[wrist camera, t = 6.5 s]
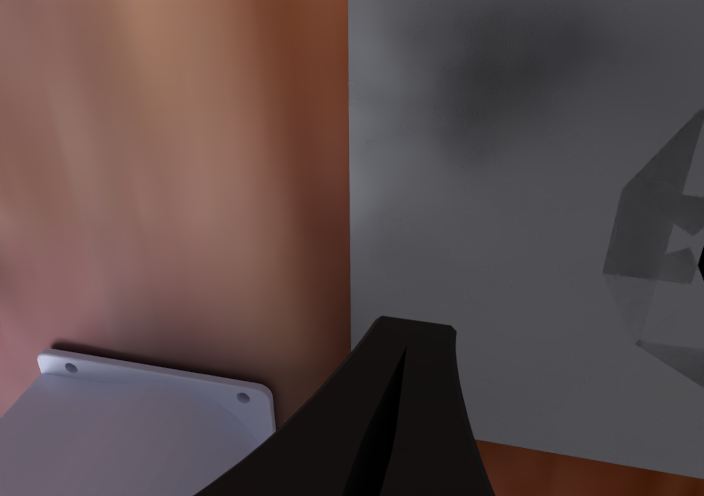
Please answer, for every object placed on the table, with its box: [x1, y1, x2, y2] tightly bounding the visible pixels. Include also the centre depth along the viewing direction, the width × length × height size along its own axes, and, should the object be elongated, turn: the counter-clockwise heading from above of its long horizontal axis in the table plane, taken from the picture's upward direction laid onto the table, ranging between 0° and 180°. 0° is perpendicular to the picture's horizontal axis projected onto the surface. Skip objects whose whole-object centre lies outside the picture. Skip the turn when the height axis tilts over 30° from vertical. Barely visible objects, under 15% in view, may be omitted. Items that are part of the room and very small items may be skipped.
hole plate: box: [348, 0, 704, 479], centre depth 16 cm, size 15×15×2 cm
